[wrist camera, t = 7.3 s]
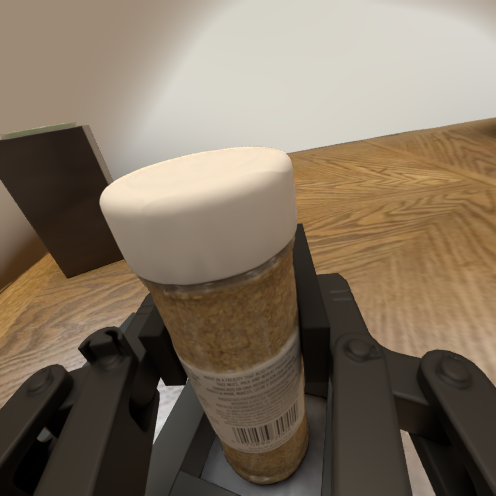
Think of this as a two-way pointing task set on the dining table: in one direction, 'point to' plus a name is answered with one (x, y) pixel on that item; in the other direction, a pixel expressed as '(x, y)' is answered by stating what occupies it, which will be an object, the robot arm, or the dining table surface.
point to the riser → (62, 194)
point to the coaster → (37, 130)
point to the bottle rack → (202, 445)
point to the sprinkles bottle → (225, 292)
